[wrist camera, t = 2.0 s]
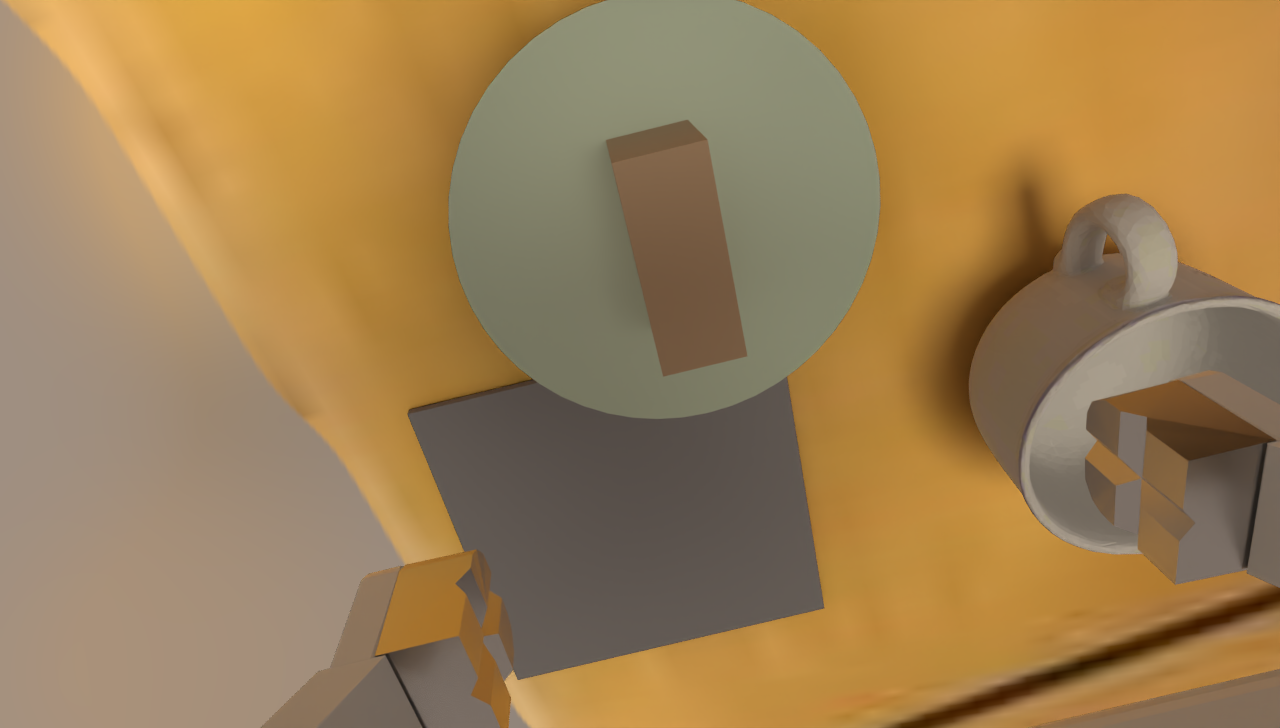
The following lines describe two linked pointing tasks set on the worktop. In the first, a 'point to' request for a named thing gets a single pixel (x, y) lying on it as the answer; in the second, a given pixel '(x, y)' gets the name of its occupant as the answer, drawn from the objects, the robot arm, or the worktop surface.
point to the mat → (624, 518)
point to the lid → (664, 205)
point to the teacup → (1105, 355)
